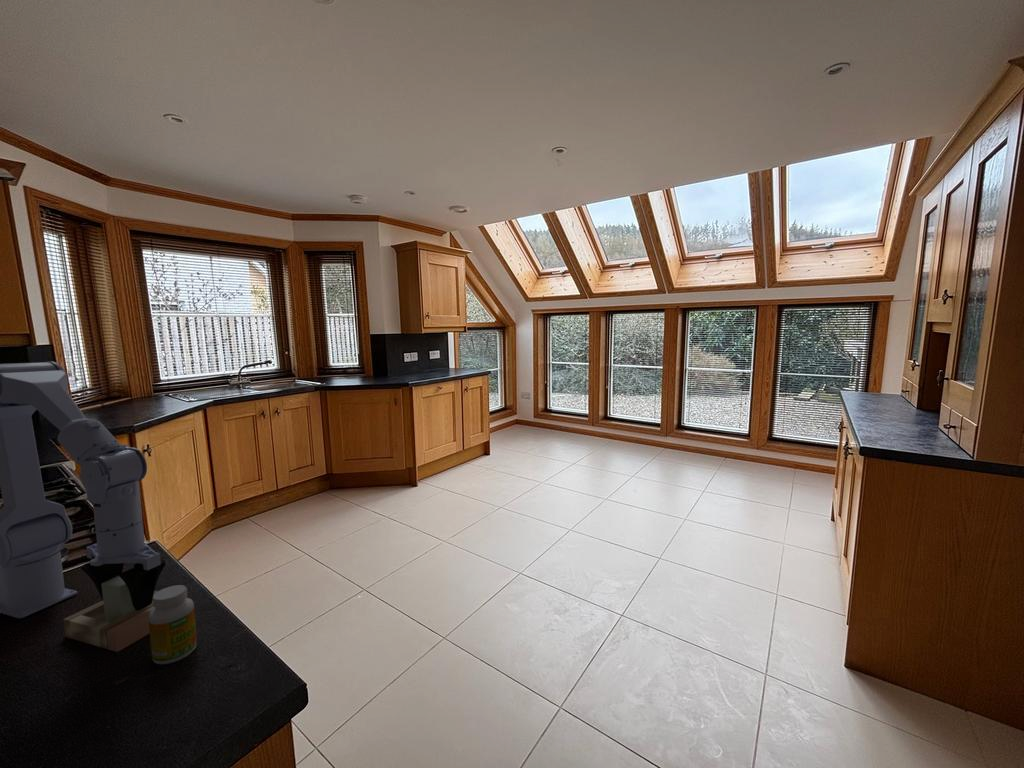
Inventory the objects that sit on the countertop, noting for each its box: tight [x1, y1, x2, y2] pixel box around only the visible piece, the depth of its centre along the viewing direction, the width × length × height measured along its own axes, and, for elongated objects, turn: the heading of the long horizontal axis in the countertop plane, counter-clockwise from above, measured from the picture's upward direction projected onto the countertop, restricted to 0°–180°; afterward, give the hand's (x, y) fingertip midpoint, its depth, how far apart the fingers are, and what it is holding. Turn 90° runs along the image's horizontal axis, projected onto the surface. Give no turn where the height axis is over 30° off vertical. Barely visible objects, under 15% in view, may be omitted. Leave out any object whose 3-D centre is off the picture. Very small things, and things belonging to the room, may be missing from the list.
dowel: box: [101, 576, 135, 623], centre depth 72 cm, size 4×4×8 cm
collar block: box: [63, 590, 159, 650], centre depth 73 cm, size 10×10×3 cm
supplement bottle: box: [149, 584, 198, 665], centre depth 65 cm, size 5×5×10 cm
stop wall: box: [107, 606, 155, 653], centre depth 71 cm, size 2×10×3 cm, turn 163°
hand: (127, 603), depth 72 cm, fingers open, 7 cm apart
